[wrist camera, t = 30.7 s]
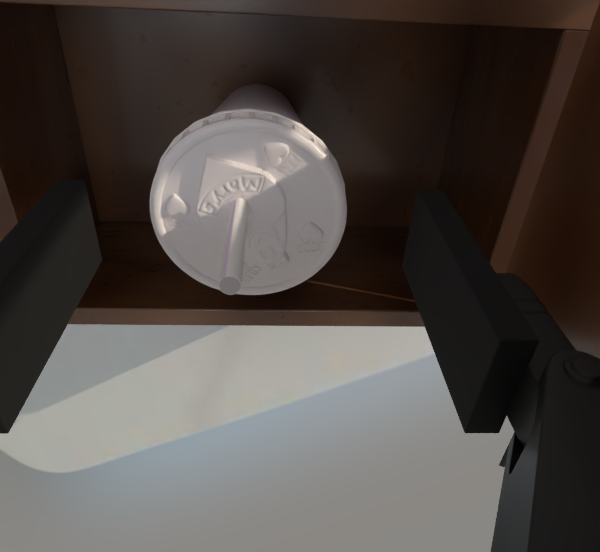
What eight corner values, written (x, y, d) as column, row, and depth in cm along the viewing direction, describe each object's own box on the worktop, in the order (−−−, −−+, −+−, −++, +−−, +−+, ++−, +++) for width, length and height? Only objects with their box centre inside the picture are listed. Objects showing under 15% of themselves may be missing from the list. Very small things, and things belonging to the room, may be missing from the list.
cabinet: (90, 227, 27) (28, 324, 20) (29, -47, 20) (-101, -40, 13) (436, 233, 28) (488, 327, 22) (496, -22, 21) (604, -4, 14)
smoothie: (283, 23, 21) (295, 125, 10) (345, 149, 24) (410, 337, 13) (163, 96, 22) (46, 260, 11) (236, 205, 26) (207, 418, 14)
